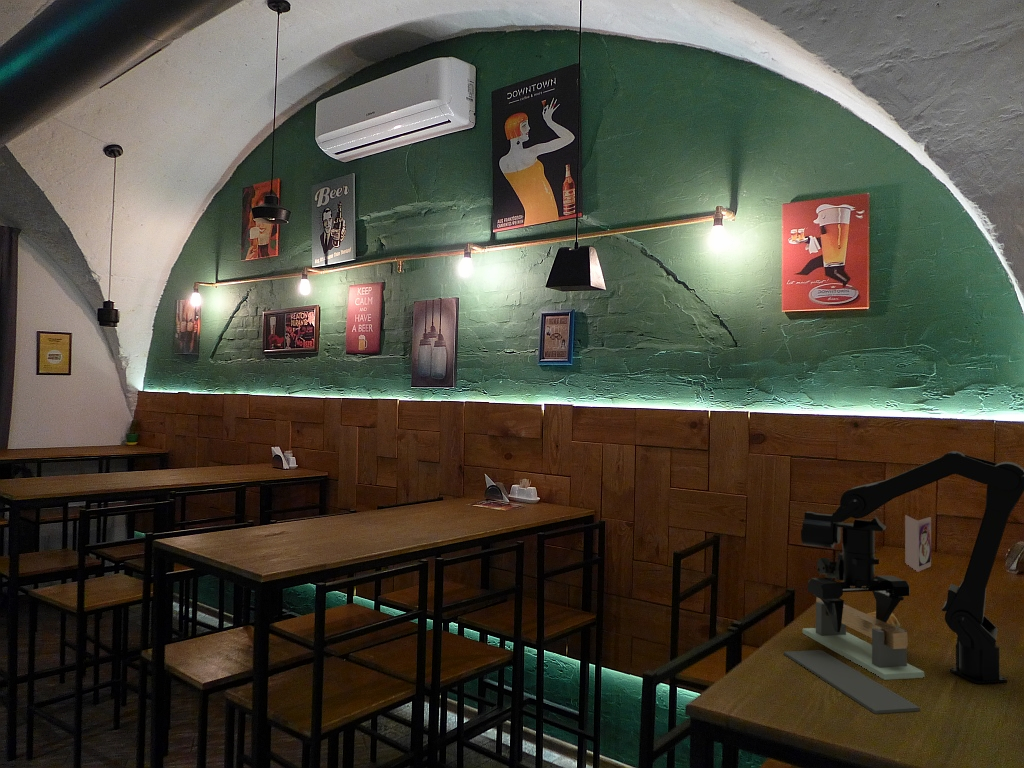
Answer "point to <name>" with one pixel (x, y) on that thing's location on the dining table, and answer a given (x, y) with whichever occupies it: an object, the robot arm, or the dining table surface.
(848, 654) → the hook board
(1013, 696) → the dining table surface
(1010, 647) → the dining table surface
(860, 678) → the rubber mat
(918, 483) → the robot arm
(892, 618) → the pastry
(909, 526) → the greeting card
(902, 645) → the copper rail
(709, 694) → the dining table surface
